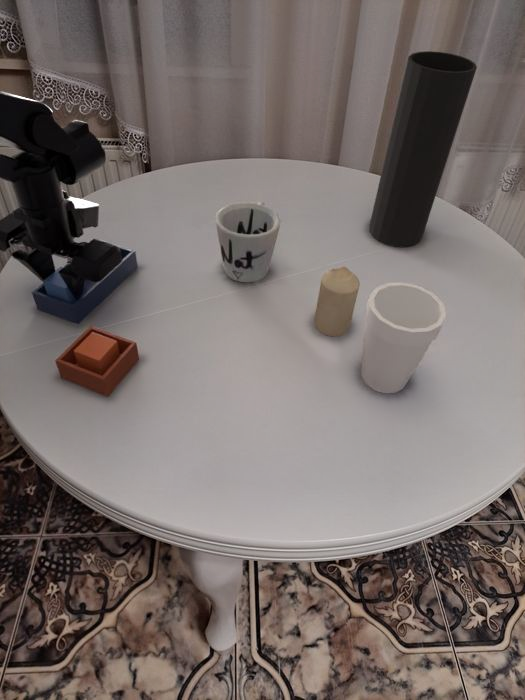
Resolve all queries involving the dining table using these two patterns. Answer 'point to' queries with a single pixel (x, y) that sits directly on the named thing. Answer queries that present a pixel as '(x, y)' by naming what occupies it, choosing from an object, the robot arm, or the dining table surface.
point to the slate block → (59, 288)
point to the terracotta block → (97, 353)
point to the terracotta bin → (90, 379)
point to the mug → (247, 239)
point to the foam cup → (398, 333)
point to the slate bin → (93, 294)
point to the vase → (419, 144)
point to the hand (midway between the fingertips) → (67, 293)
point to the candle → (336, 301)
